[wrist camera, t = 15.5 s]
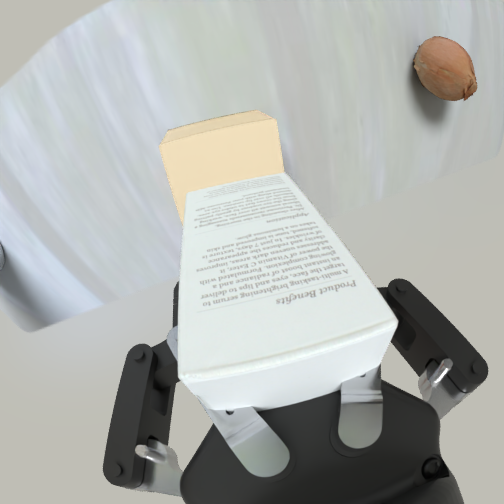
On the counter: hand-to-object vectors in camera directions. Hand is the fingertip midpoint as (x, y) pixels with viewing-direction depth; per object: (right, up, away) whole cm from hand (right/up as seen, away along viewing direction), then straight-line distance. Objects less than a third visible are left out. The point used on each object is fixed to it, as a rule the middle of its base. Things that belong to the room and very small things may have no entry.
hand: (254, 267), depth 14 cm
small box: (0, +2, +2) cm, 3 cm away
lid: (-2, +7, +9) cm, 12 cm away
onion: (+25, +28, +11) cm, 39 cm away
